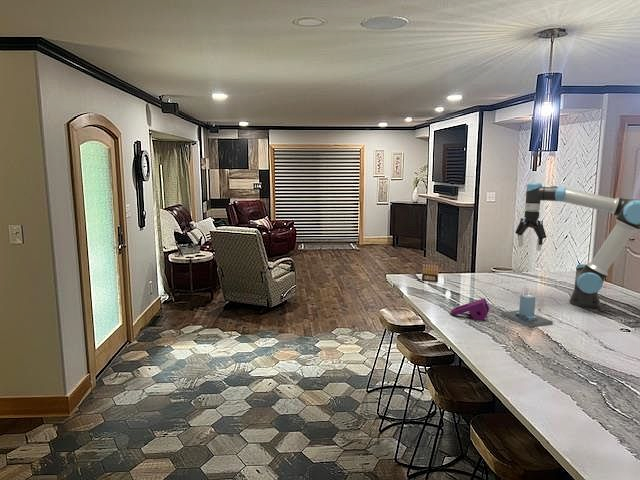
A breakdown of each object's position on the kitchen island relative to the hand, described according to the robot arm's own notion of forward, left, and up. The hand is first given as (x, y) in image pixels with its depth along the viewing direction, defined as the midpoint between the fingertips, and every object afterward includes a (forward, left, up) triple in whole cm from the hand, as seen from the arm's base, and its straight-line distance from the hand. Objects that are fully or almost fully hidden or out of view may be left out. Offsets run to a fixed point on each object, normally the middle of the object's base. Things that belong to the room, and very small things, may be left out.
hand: (529, 248), depth 267 cm
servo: (-4, +33, -31) cm, 46 cm away
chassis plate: (-4, +33, -32) cm, 46 cm away
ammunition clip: (+62, -23, -32) cm, 73 cm away
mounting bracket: (+23, +42, -32) cm, 58 cm away
